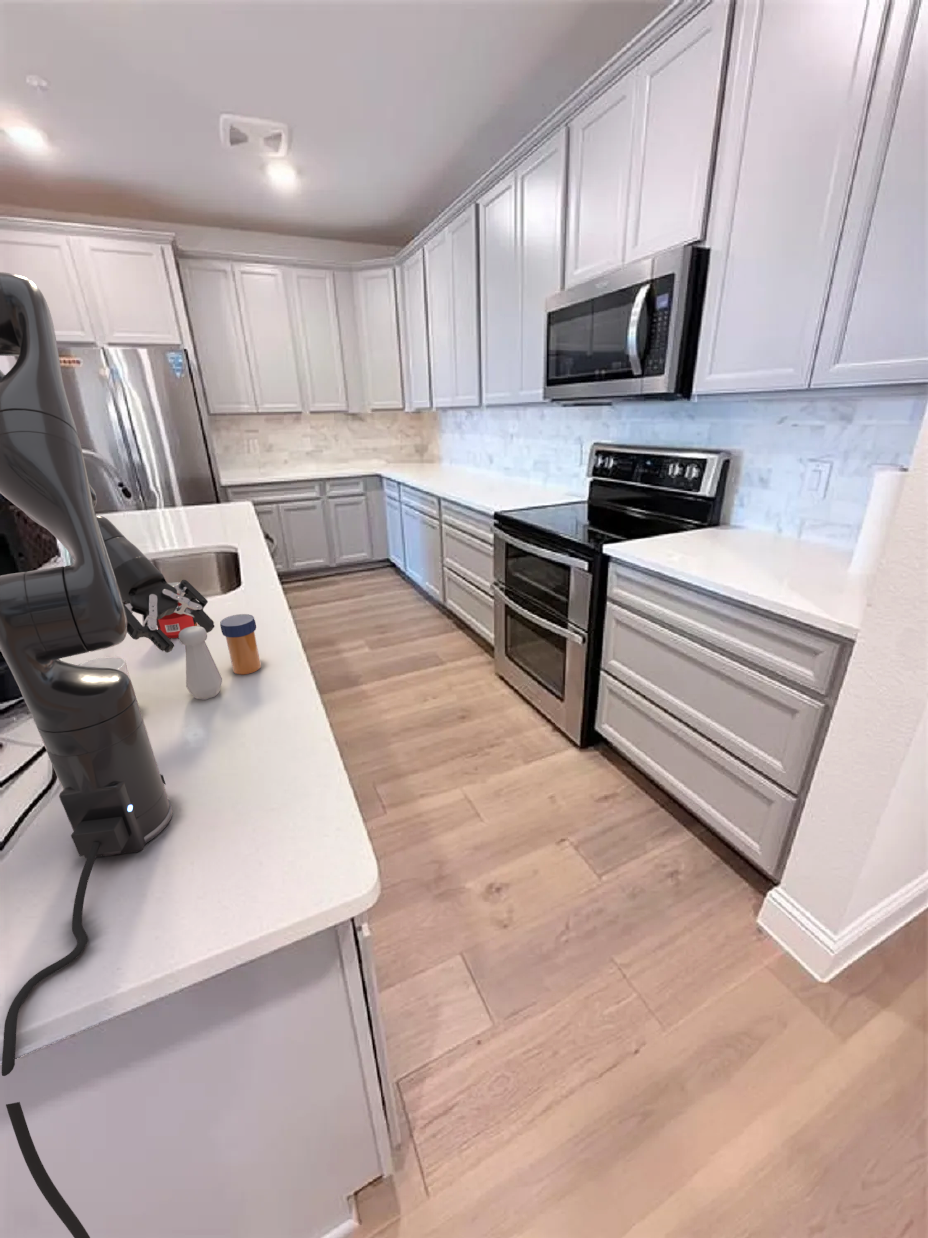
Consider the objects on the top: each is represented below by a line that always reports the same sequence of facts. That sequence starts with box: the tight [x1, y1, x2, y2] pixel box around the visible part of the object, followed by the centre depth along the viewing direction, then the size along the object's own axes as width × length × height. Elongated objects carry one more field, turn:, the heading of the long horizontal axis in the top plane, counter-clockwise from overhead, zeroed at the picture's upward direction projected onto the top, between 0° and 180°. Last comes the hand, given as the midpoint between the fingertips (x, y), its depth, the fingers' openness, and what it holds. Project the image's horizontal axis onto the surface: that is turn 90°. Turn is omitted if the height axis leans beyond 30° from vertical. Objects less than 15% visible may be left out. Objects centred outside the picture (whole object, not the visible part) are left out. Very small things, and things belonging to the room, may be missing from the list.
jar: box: [225, 631, 262, 675], centre depth 99 cm, size 5×5×10 cm
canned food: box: [157, 581, 198, 639], centre depth 116 cm, size 8×8×11 cm
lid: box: [219, 613, 257, 638], centre depth 98 cm, size 6×6×2 cm
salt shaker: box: [178, 625, 223, 701], centre depth 90 cm, size 6×6×13 cm
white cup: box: [78, 656, 131, 679], centre depth 83 cm, size 8×8×10 cm
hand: (192, 639), depth 88 cm, fingers open, 8 cm apart
